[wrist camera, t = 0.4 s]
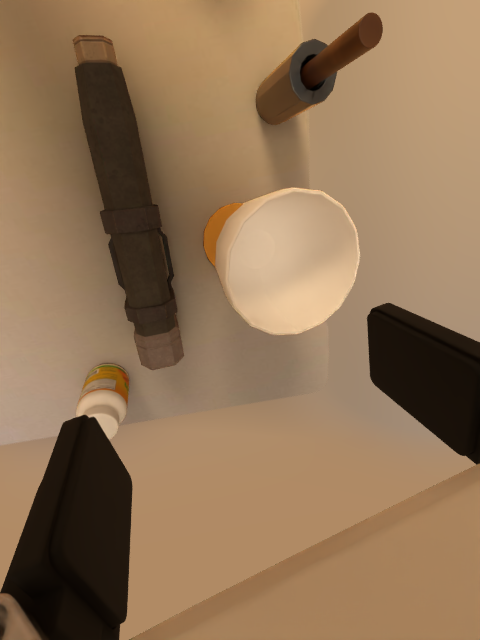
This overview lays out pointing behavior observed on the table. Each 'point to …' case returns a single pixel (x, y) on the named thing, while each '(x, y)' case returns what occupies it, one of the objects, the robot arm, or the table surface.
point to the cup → (284, 258)
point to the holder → (292, 86)
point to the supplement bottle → (105, 397)
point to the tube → (127, 203)
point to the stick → (343, 50)
